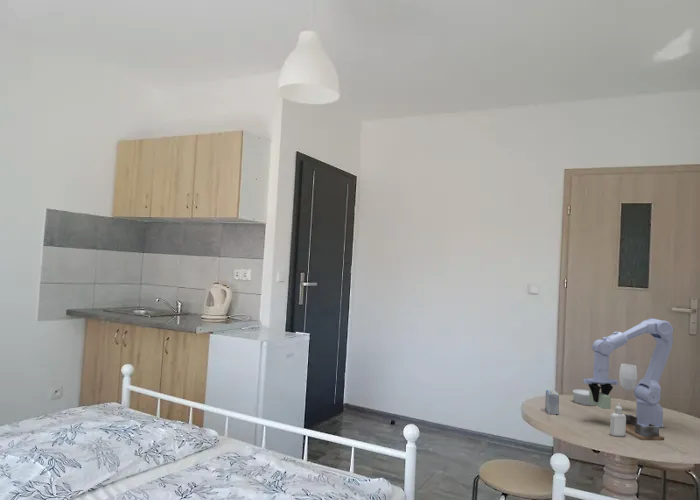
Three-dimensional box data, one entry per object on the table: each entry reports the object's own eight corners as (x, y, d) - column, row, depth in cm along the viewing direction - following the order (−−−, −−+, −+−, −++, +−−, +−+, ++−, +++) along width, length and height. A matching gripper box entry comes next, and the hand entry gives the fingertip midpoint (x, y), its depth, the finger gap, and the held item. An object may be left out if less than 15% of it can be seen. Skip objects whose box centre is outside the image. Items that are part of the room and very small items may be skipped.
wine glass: (636, 410, 240) (638, 365, 240) (634, 414, 234) (637, 367, 234) (618, 407, 244) (620, 362, 244) (616, 410, 238) (618, 365, 238)
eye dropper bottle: (626, 437, 198) (628, 406, 198) (610, 435, 200) (611, 404, 200) (624, 434, 202) (625, 403, 202) (608, 432, 204) (609, 401, 204)
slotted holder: (631, 424, 216) (632, 414, 216) (664, 440, 198) (664, 428, 198) (609, 424, 215) (610, 413, 215) (640, 439, 197) (640, 427, 197)
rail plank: (595, 402, 223) (596, 390, 223) (610, 408, 213) (610, 396, 213) (588, 402, 222) (589, 390, 223) (603, 408, 213) (604, 396, 213)
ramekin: (575, 405, 244) (575, 393, 244) (569, 399, 255) (569, 388, 255) (600, 407, 242) (601, 396, 242) (593, 401, 253) (594, 390, 253)
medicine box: (558, 415, 225) (559, 394, 225) (547, 413, 226) (548, 393, 226) (555, 410, 232) (556, 390, 233) (544, 409, 233) (545, 389, 234)
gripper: (611, 367, 223) (609, 399, 223) (579, 366, 221) (578, 398, 221) (621, 371, 216) (620, 404, 216) (589, 370, 214) (588, 403, 214)
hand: (599, 401), depth 218 cm, fingers closed on rail plank, 3 cm apart
